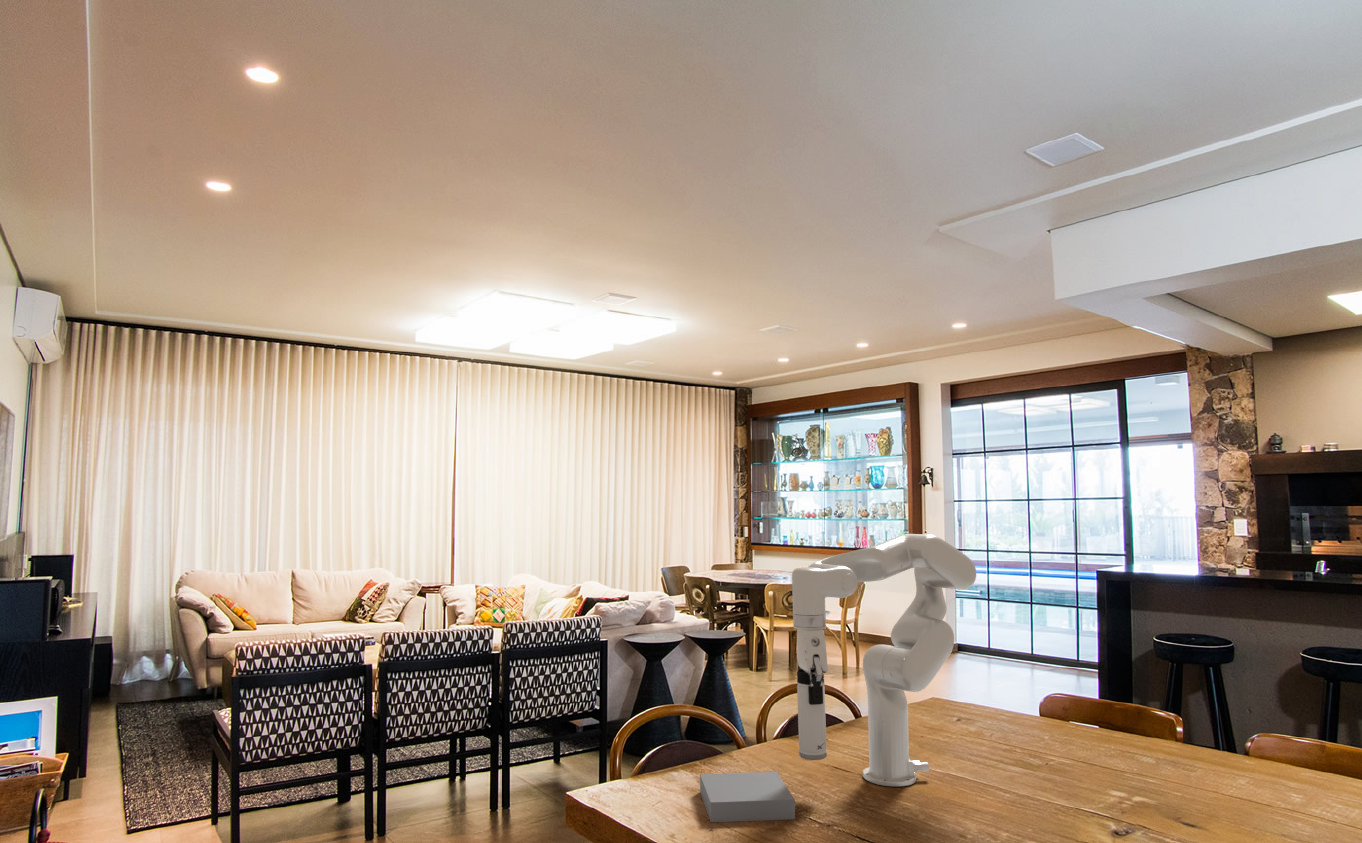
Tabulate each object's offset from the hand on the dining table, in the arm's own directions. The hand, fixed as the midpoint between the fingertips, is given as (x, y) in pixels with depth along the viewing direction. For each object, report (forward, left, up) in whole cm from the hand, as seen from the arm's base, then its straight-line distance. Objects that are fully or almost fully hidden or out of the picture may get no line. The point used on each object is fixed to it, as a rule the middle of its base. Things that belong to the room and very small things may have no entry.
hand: (811, 699), depth 187 cm
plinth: (+16, +4, -21) cm, 27 cm away
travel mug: (0, 0, -13) cm, 13 cm away
